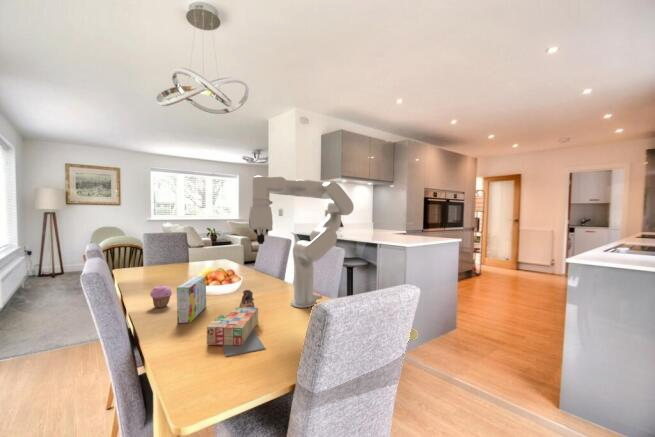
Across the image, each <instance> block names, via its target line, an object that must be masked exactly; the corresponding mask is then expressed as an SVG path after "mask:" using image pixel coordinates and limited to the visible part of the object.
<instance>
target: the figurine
mask: <svg viewBox="0 0 655 437" xmlns="http://www.w3.org/2000/svg"><path fill="white" fill-rule="evenodd" d="M242 294H243V295H242V297H241V301H240V303H239V307H238V308H244V307H246V308H256V307H255V303H254V301H255V298H253V294H254V293H253V292H252V291H251V290H250V289H245V290H243V291H242Z"/></svg>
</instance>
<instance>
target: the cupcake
mask: <svg viewBox="0 0 655 437" xmlns="http://www.w3.org/2000/svg"><path fill="white" fill-rule="evenodd" d="M149 294H150V295H149V296H150V298H152V303H153V307H154V308H158V309H162V308H165V307H167V305H168V304H169V302H170V298H171V296H172V289H171V287H170V286H168V285H158V286H155V287H153V288H152V289H151V291H150V293H149Z"/></svg>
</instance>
